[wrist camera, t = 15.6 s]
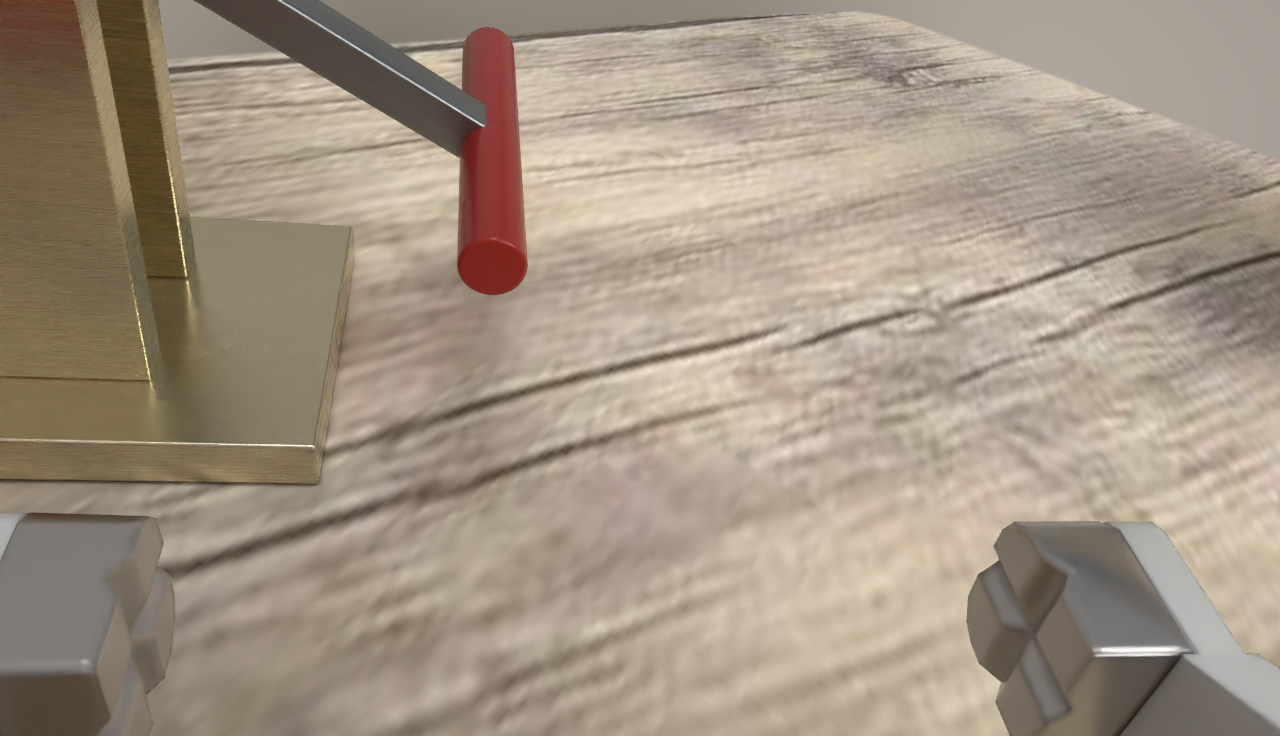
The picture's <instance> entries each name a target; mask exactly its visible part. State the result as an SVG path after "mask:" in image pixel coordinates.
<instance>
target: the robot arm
mask: <svg viewBox="0 0 1280 736" xmlns="http://www.w3.org/2000/svg"><path fill="white" fill-rule="evenodd" d="M162 547H163V539H162V535H161V532H160V528H159V524H158V521H157V518H154V517H150V516H123V515H91V514H59V513H2V512H0V736H150V733H151V729H152V725H153V721H152V717H151V713H150V709H149V705H148V701H147V697H146V695H147V694H148V693H149V692H150V691H151V690H152V689H153V688H155V687H156V686H157V685H158V684H159V683H160V682H161V681H162V680H163V679H164V678H165V675H166V671H167V667H168V663H169V659H170V655H171V650H172V643H173V634H174V625H175V599H174V590H173V585H172V580H171V576H170V575H169V574H168V573H166V572H165V571H164V570H162V569H161V568H160V567H158V566H157V564H158V561H159V557H160V554H161V550H162ZM994 549H995V551H996V553H997V555H998V557H999V561H998V562H996V563H995V564H993V565H992V566H990V567H989V568H987V569H986V570H984V571H983V572H981V573H980V574H978V576H977V578H976V580H975V582H974V585H973V587H972V589H971V591H970V593H969V595H968V606H967V626H968V631H969V636H970V641H971V644H972V647H973V649H974V652H975V654H976V657H977V659H978V662H979V664H980V665H982V666H983V667H984V668H985V669H986V670H988V671H989V672H990V673H991V674H992V675H993V676H995V677H996V678H997V679H998V680H999V681H1000V682H1001V685H1000V688H999V692H998V695H997V698H996V704H997V707H998V709H999V711H1000V714H1001V716H1002V718H1003V721H1004V723H1005V725H1006V728H1007V730H1008V732H1009V735H1010V736H1280V669H1279V668H1278V667H1276V666H1275V665H1274V664H1272V663H1271V662H1269V661H1268V660H1267V659H1265V658H1264V657H1262V656H1261V655H1260V654H1253V653H1244V652H1243V650H1242V649H1241V647H1240V646H1239V644H1238V642H1237V641H1236V639H1235V638H1234V636H1233V635H1232V633H1231V632H1230V630H1229V629H1228V627H1227V626H1226V624H1225V623H1224V621H1223V620H1222V618H1221V617H1220V615H1219V614H1218V612H1217V610H1216V609H1215V607H1214V606H1213V604H1212V603H1211V601H1210V600H1209V598H1208V597H1207V595H1206V594H1205V592H1204V591H1203V589H1202V588H1201V586H1200V585H1199V583H1198V581H1197V580H1196V578H1195V577H1194V575H1193V574H1192V572H1191V571H1190V569H1189V568H1188V566H1187V565H1186V563H1185V562H1184V560H1183V559H1182V557H1181V556H1180V554H1179V552H1178V551H1177V549H1176V548H1175V546H1174V545H1173V543H1172V542H1171V540H1170V539H1169V537H1168V536H1167V534H1166V533H1165V532H1164V531H1163V530H1162V529H1161V528H1159V527H1158V526H1156V525H1155V524H1154V523H1152V522H1104V523H1101V522H1098V521H1064V522H1013V523H1012V524H1010V525H1009V526H1007V527H1006V528H1004V529H1003V530H1002V532H1001V533H1000V535H999V537H998V539H997V541H996V542H995V544H994Z"/></svg>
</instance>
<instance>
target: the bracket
mask: <svg viewBox="0 0 1280 736" xmlns="http://www.w3.org/2000/svg"><path fill="white" fill-rule="evenodd" d="M353 264H354V238H353V228H352V227H351V226H337V225H320V224H302V223H285V222H268V221H251V220H233V219H216V218H199V217H190V215H189V208H188V202H187V195H186V188H185V181H184V174H183V167H182V160H181V154H180V147H179V140H178V133H177V126H176V119H175V112H174V106H173V99H172V92H171V85H170V78H169V71H168V64H167V57H166V51H165V44H164V37H163V30H162V23H161V17H160V9H159V3H158V0H0V479H22V480H90V481H157V482H225V483H293V484H316V483H318V481H319V478H320V472H321V465H322V459H323V453H324V446H325V440H326V434H327V427H328V421H329V415H330V409H331V402H332V396H333V390H334V383H335V377H336V371H337V365H338V358H339V352H340V346H341V339H342V333H343V327H344V320H345V314H346V308H347V302H348V295H349V289H350V283H351V276H352V270H353Z"/></svg>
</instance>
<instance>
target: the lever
mask: <svg viewBox="0 0 1280 736" xmlns="http://www.w3.org/2000/svg"><path fill="white" fill-rule="evenodd" d="M194 1H196V2H198V3H199V4H201V5H203V6H205V7H206V8H208V9H210V10H211V11H213V12H215V13H216V14H218V15H220V16H221V17H223V18H225V19H226V20H228V21H230V22H231V23H233V24H235V25H237V26H238V27H240V28H242V29H243V30H245V31H247V32H249V33H250V34H252V35H253V36H255V37H257V38H258V39H260V40H262V41H264V42H265V43H267V44H269V45H270V46H272V47H274V48H276V49H277V50H279V51H280V52H282V53H284V54H285V55H287V56H289V57H290V58H292V59H294V60H295V61H297V62H299V63H301V64H302V65H304V66H306V67H307V68H309V69H311V70H312V71H314V72H316V73H317V74H319V75H321V76H322V77H324V78H326V79H327V80H329V81H331V82H333V83H334V84H336V85H338V86H339V87H341V88H343V89H344V90H346V91H348V92H349V93H351V94H353V95H354V96H356V97H358V98H359V99H361V100H363V101H365V102H366V103H368V104H370V105H371V106H373V107H375V108H376V109H378V110H380V111H381V112H383V113H385V114H386V115H388V116H390V117H391V118H393V119H395V120H397V121H398V122H400V123H402V124H403V125H405V126H407V127H408V128H410V129H412V130H413V131H415V132H417V133H418V134H420V135H422V136H423V137H425V138H427V139H429V140H430V141H432V142H434V143H435V144H437V145H439V146H440V147H442V148H444V149H445V150H447V151H449V152H450V153H452V154H454V155H455V156H457V157H459V158H460V177H459V215H458V253H457V268H458V272H459V275H460V277H461V279H462V280H463V281H464V283H465V284H466V285H467V286H469V287H470V288H471V289H473V290H474V291H477V292H479V293H482V294H487V295H498V294H503V293H506V292H509V291H511V290H513V289H514V288H515V287H517V286H518V285H519V284H520V283H521V282H522V280H523V279H524V277H525V275H526V272H527V265H528V264H527V248H526V232H525V216H524V200H523V185H522V169H521V153H520V137H519V121H518V106H517V90H516V74H515V58H514V48H513V44H512V42H511V40H510V39H509V37H508V36H507V35H506V34H504V33H503V32H502V31H500V30H498V29H495V28H489V27H486V28H480V29H477V30H475V31H474V32H472V33H471V34H470V35H469V36H468V37H467V38H466V40H465V42H464V45H463V63H462V90H461V89H459V88H458V87H456V86H454V85H453V84H451V83H450V82H448V81H446V80H445V79H443V78H442V77H440V76H438V75H437V74H435V73H434V72H432V71H431V70H429V69H427V68H426V67H424V66H423V65H421V64H419V63H418V62H416V61H415V60H413V59H411V58H410V57H408V56H407V55H405V54H404V53H402V52H400V51H399V50H397V49H396V48H394V47H392V46H391V45H389V44H388V43H386V42H384V41H383V40H381V39H380V38H378V37H376V36H375V35H373V34H372V33H370V32H369V31H367V30H365V29H364V28H362V27H361V26H359V25H357V24H356V23H354V22H353V21H351V20H350V19H348V18H346V17H345V16H343V15H342V14H340V13H338V12H337V11H335V10H334V9H332V8H331V7H329V6H327V5H325V4H324V3H323V2H321V1H319V0H194Z"/></svg>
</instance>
